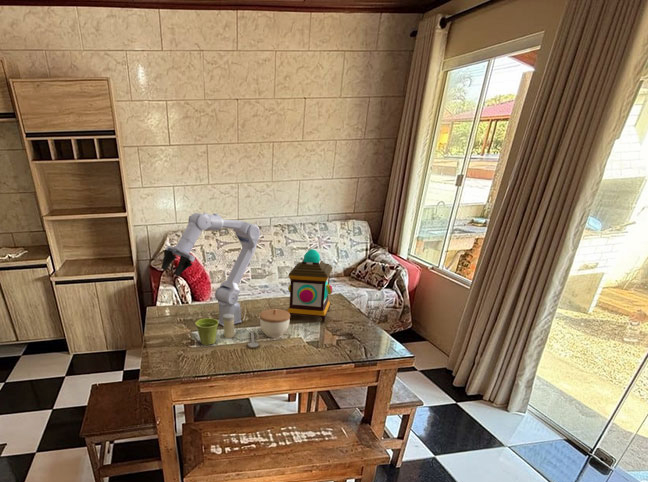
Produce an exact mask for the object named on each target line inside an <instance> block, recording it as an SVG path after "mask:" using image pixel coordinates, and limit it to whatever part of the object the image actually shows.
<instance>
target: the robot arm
mask: <svg viewBox="0 0 648 482" xmlns="http://www.w3.org/2000/svg"><path fill="white" fill-rule="evenodd" d="M187 220H188V223H187V225H186V228H185V230H184V231H183V233H182V235H181V236H180V238H179V239H178V242H177V243H176V245H167V246H166V248H165V249H164V250H163V260H162V264H161V269H162V270H163V271H167V270H168V268H169V267H170V265H171V264H172V263H173V262H174V260H175V259H177V256H178V257H179V261H178V264H177V267H176V268H175V270H174V273H173V274H174V275H175V276H176V277H179V276H180V275H181V274H182V273H183V272H184V271H186V270H187V269H189V268H190V267H192V266H193V264H192V263H194V262H195V260H196V257H195V256H194V255H192V254H191V251H192V249H193V248H194V246H195V244H196V243H197V241H198V239H199V237H200V235H201V234H202V232H203V231H220V230H222V228H223V229H231V230H233V232H234V234H235V236H236V238H237V240H238V242H239V243H240V244H241V250H240V251H239V254H238V256H237V258H236V260H235V262H234V264H233V265H232V269H231V270H230V271H229V274H228V276H227V278H226V280H224V281H223V282H221V283H220V285H219V286H218V287H217V288H216V290H215V292H214V298H215V299H216V301H217V303H218V319H217V320H218V322H219V323H218V325H220V326H223V327H224V320H223V315H225V314H233V315H234V325H236V324H240V323H242V322H243V321H242V307H241V305H240V303H239V302H238V300H239V294H240V293H241V291H240V288H239V284H241V283H240V282H241V281H242V278H243V276H244V275H245V272H246V270H247V268H248V266H249V264H250V262H251V260H252V258H253V256H254V254H255V252H256V249H257V244H258V241H259V239H260V237H261V232H260V231H261V230H260V227H259V226H258V225H257V224H252V223H250V222H247V221H243V220H237V219H223V218H222V216H221V215H218V213H213V214H210V213H209V214H208V213H207V212H203V213H201V212H194V213H192V214H191V215H189V216H188V219H187Z"/></svg>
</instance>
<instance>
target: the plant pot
mask: <svg viewBox="0 0 648 482" xmlns="http://www.w3.org/2000/svg"><path fill="white" fill-rule="evenodd" d="M218 320H219V319H215V318H211V317H206V318H205V317H204V318H200V319H197V320H196V321H195V322H194V324H195V326H196V328H197V332H198V336H199V341H200V343H201V344H202V345H204V346H210V345H213V344H214V345H215V343H216V341H217V338H216V337H217V331H218V330H217V329H218V326H219V322H218Z"/></svg>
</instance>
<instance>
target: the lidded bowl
mask: <svg viewBox="0 0 648 482" xmlns="http://www.w3.org/2000/svg"><path fill="white" fill-rule="evenodd" d="M290 319H291V315H290V313H289V312H288V311H287V310H286V309H281V308H269V309H264V310H262V311H260V313H259V326H260V329H261V331H262V332H263V333H264V334H265V336H266V337H268V338H270V339H279V338H281V337H283V336H284V334H286V333H287V331H288V330H289V327H290V322H291V320H290Z"/></svg>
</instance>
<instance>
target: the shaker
mask: <svg viewBox="0 0 648 482" xmlns="http://www.w3.org/2000/svg"><path fill="white" fill-rule="evenodd" d="M223 320H224V326H223V337H225V338H227V339H231V338H234V337H235V335H236V334H235V333H236V332H235V324H234V315H233V314H225V315H223Z"/></svg>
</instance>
